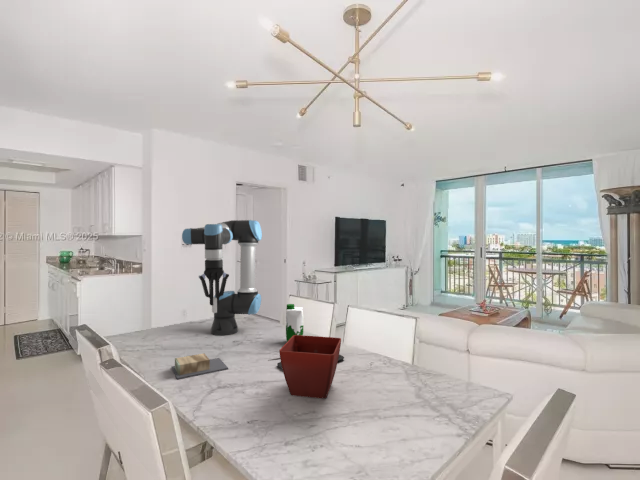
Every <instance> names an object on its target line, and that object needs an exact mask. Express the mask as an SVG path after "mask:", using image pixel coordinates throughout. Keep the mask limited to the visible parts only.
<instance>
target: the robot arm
mask: <svg viewBox="0 0 640 480" xmlns="http://www.w3.org/2000/svg"><path fill="white" fill-rule="evenodd" d="M262 236H263V232H262V226H261V224H260V222H259V221H258V220H252V219H248V220H247V219H245V220H243V219H241V220H238V219H237V220H235V219H234V220H228V221H227V220H226V221H223V222H218V223H211V224H210V223H208V224H205V225H204V226H201V227H197V228H196V227H195V228H193V227H190V228H185V229H183V231H182V233H181V237H182V238H181V240H182V242H183V243H184V245H185V244H186V245H191V246H192V245H204V259H205V260H204V271H203V273H202V274H201V275H198V279H200V282H201V285H202V286H201V287H202V288H203V292H204V295H205V296H204V297H206V298H209V305H210V306H211V312H212V313H213V321H212V325H211V328H210V334H212V335H215V336H228V335H233V334H236V333H237V332H238V331H239V327H238V324H237V322H236V317H235V315H257V313H259V310H260V308H261V304H262V295H261V294H260V293H259V292H258V291H259V290H258V289H257V288H256V262H257V261H256V255H257V254H256V249H257V246H258V245H259V242H260V241H261V240H262V238H263V237H262ZM232 241H237V244H238V246H240V257H239V258H240V259H239V260H240V266H239V267H240V270H239V275H240V277H239V278H240V279H239V281H240V283H239V289H237V293H236V292H235V290H226V291H225V289H226V284H227V281H228V278H229V277H230V274H229V273H226V272H225V271H224V268H223V267H224V265H223V264H224V262H223V261H224V260H223V258H224V256H223V254H224V253H223V252H224V251H223V245H227V244H229V243H230V242H232ZM206 278H207V280H208V286H207V282H206ZM221 278H222V280H221V284H220V279H221ZM214 294H215V295H214Z"/></svg>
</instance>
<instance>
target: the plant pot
mask: <svg viewBox="0 0 640 480" xmlns="http://www.w3.org/2000/svg"><path fill="white" fill-rule="evenodd" d="M341 342H342V338H341V337H330V336H318V335H317V336H316V335H315V336H314V335H304V334H303V335H293V336H292V337H291V338H290V339H289V341H288V342H287V341H286V343H284V345H282V347H281V348H280V349H279V351H278V352H279V358H280V359H279V360H280V362H281V365H282V368H281V370H282V372H283V375H284V380H285V383H286V385H287V390H288V392H289V394H290V396H294V397H303V398H313V399H321V400H324V399H326V398H327V397H328V394H329V392H330V389H331V387H332V384H333V381H334V378H335V374H336V371H337V366H338V362H339V361H338V358H339V355H340V352H341V345H342V343H341Z"/></svg>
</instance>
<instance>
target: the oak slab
mask: <svg viewBox="0 0 640 480" xmlns="http://www.w3.org/2000/svg"><path fill="white" fill-rule="evenodd" d="M174 366H175V369H176V371H177V373H178V375H183V374H188V373H193V372H198V371H203V370H208V369H210V358H209V357H208V356H207V355H206V353H198V354H194V355H193V354H192V355H188V356H180V357H174Z"/></svg>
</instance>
